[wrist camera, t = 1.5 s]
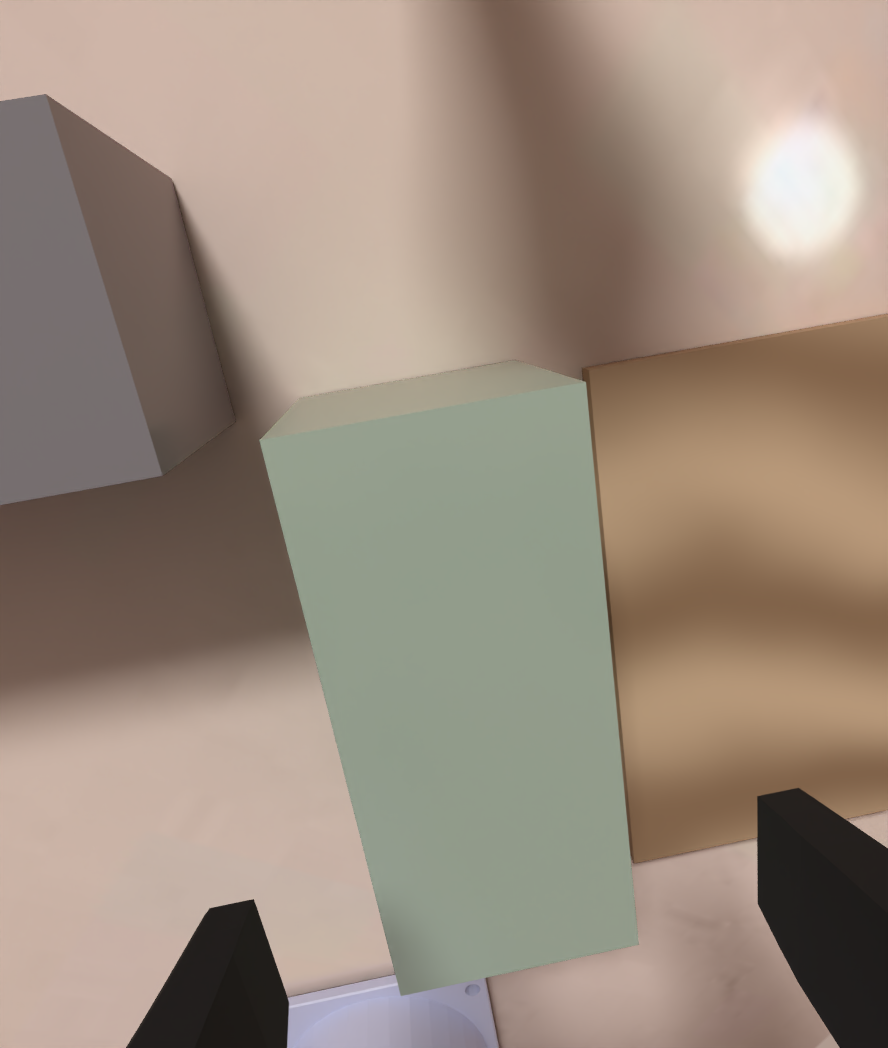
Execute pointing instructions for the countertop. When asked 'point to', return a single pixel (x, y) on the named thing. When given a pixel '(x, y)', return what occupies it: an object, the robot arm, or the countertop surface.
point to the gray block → (95, 313)
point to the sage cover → (465, 661)
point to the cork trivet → (746, 577)
